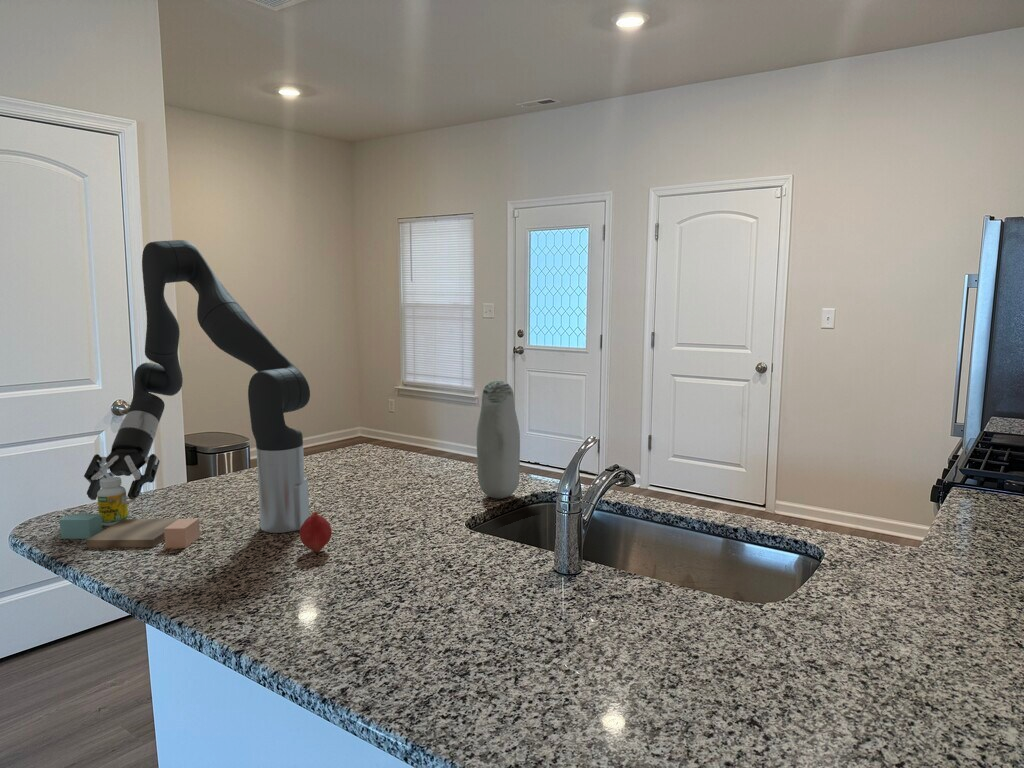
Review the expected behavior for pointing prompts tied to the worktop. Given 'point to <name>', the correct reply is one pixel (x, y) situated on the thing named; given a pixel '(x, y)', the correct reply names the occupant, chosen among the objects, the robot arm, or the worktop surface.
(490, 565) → the worktop surface
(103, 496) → the supplement bottle
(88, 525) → the teal block
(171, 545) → the terracotta block
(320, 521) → the onion
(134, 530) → the walnut board
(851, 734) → the worktop surface
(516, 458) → the grey bottle
